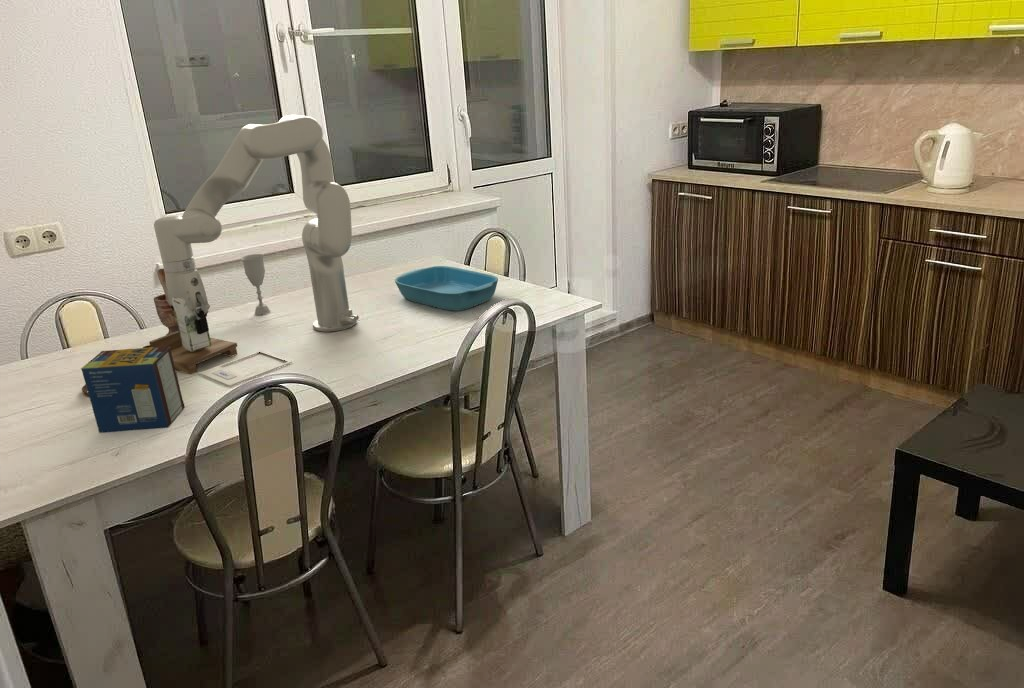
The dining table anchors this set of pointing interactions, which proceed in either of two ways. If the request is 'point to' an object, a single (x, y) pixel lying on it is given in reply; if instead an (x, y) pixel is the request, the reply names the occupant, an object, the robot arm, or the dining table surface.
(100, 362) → the protein box
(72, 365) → the dining table surface
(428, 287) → the casserole dish
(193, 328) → the syrup box
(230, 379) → the photo frame
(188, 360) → the shelf
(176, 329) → the mortar and pestle
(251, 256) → the chalice
